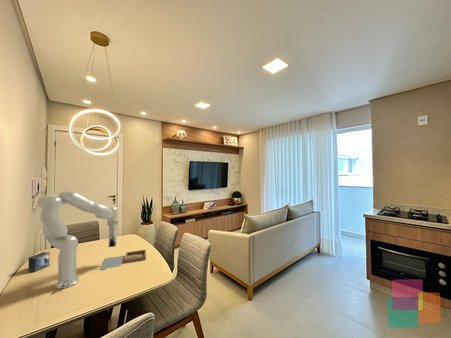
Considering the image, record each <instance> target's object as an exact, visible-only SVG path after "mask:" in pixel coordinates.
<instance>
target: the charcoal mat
mask: <svg viewBox="0 0 451 338" xmlns="http://www.w3.org/2000/svg"><path fill="white" fill-rule="evenodd" d="M124 258H125V255H120V256H119V255H118V256H112V257H107V258H104V260H103V262H102V264H101V266H100V268H99V271H104V270H106V269H110V268H117V267H118V268H119V267H121V266H122V263H123V261H124Z"/></svg>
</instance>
